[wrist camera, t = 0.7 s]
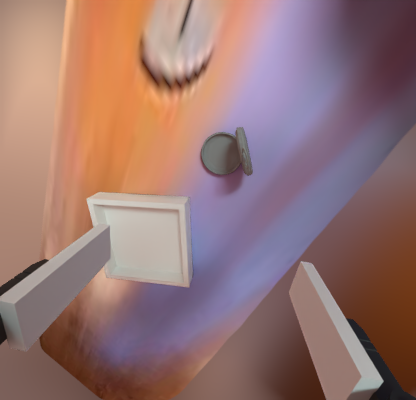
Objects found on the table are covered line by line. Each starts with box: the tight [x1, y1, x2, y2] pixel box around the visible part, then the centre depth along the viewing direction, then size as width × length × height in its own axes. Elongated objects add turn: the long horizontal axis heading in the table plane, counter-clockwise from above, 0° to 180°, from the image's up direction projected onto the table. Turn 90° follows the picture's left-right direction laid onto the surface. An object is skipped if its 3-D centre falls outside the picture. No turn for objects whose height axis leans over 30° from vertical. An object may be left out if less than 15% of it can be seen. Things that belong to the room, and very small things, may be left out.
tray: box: [87, 192, 193, 287], centre depth 40 cm, size 18×18×4 cm
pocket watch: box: [201, 127, 253, 176], centre depth 28 cm, size 8×8×10 cm
